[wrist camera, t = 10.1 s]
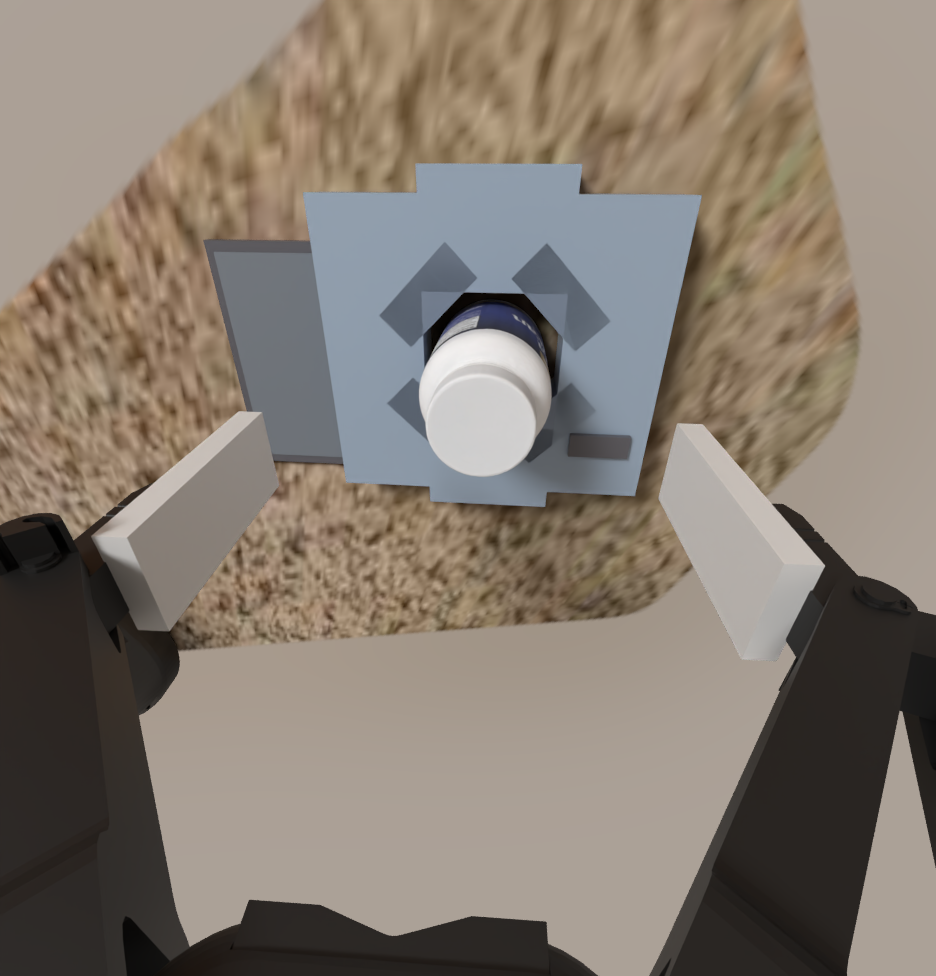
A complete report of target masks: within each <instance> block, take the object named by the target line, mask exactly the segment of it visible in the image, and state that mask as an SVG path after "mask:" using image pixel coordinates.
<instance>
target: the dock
mask: <svg viewBox="0 0 936 976" xmlns="http://www.w3.org/2000/svg"><path fill="white" fill-rule="evenodd" d="M581 171H582V164H416V183H417V192H303V196H304V203H305V210H306V216H307V223H308V230H309V236H310V243H311V250H312V256H313V263H314V270H315V276H316V283H317V290H318V296H319V303H320V310H321V317H322V323H323V330H324V337H325V343H326V350H327V357H328V363H329V370H330V377H331V383H332V390H333V397H334V403H335V410H336V417H337V423H338V430H339V437H340V443H341V450H342V457H343V464H344V470H345V477H346V482H347V483H369V484H390V485H411V486H430V501H435V502H455V503H475V504H496V505H516V506H536V507H545V504H546V495H547V492H560V493H581V494H602V495H623V496H635V493H636V488H637V484H638V479H639V475H640V471H641V466H642V462H643V457H644V453H645V448H646V444H647V439H648V435H649V430H650V426H651V421H652V417H653V412H654V408H655V403H656V399H657V394H658V390H659V385H660V381H661V376H662V372H663V367H664V363H665V358H666V354H667V350H668V345H669V341H670V336H671V332H672V327H673V323H674V318H675V314H676V309H677V305H678V300H679V296H680V291H681V287H682V282H683V278H684V273H685V269H686V264H687V260H688V255H689V251H690V246H691V242H692V237H693V233H694V229H695V224H696V220H697V215H698V211H699V206H700V202H701V197H702V195H687V194H579V189H580V180H581ZM464 292H474V293H522V294H525V295H526V296H527V297H528V298H529V300H530V301H531V302H532V303H533V304H534V305H535V307H536V308H537V309H538V310H539V311H540V312H541V313H542V315H543V316H544V317H545V318H546V319H547V320H548V322H549V323H550V324H551V325H552V326H553V327H554V328H555V330H556V331H557V332H558V341H557V351H556V360H555V370H554V377H553V378H552V379H551V395H552V398H551V406H550V411H549V414H548V417H547V420H546V422H545V424H544V426H543V428H542V429H541V431H540V432H539V434H538V435H537V436H536V437H535V441H534V443H533V446H532V448H531V450H530V452H529V453H528V455H527V456H526V457H525V458H524V459H523V460H522V461H521V462H520V463H519V464H518V465H517V466H515V467H514V468H512V469H511V470H509V471H507V472H504V473H502V474H499V475H494V476H489V477H477V476H470V475H465V474H463V473H460V472H457V471H455V470H453V469H452V468H450V467H449V466H447V465H446V464H445V463H443V462H442V461H441V460H440V459H439V458H438V456H437V455H436V454H435V452H434V451H433V449H432V447H431V445H430V443H429V441H428V438H427V434H426V422H425V420H424V418H423V415H422V412H421V408H420V402H419V386H420V381H421V377H422V374H423V371H424V369H425V366H426V364H427V362H428V360H429V358H430V356H431V354H432V341H431V326H432V325H433V324H434V323H435V322H436V321H437V320H438V319H439V318H440V317H441V316H442V315H443V314H444V313H445V311H446V310H447V309H448V308H449V307H450V306H451V305H452V304H453V303H454V302H455V301H456V300H457V299H458V298H459V297H460V296H461V295H462V294H463V293H464Z"/></svg>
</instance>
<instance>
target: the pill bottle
mask: <svg viewBox="0 0 936 976" xmlns="http://www.w3.org/2000/svg"><path fill="white" fill-rule="evenodd" d="M551 398H552V395H551V380H550V375H549V370H548V364H547V359H546V354H545V349H544V344H543V340H542V336H541V333H540V331H539V329H538V327H537V325H536V324H535V322H534V321H533V319H532V318H531V317H530V316H529V315H528V314H527V313H526V312H525V311H523V310H522V309H521V308H519V307H518V306H516V305H514V304H512V303H509V302H506V301H502V300H495V299H489V300H482V301H477V302H474V303H472V304H470V305H468V306H466V307H464V308H463V309H461V310H460V311H459V312H458V313H456V314H455V315H454V316H453V318H452V319H451V320H450V321H449V323H448V324H447V325H446V327H445V329H444V331H443V333H442V335H441V337H440V339H439V340H438V342H437V344H436V346H435V348H434V350H433V352H432V354H431V356H430V358H429V360H428V362H427V364H426V366H425V369H424V371H423V374H422V377H421V381H420V386H419V402H420V408H421V412H422V415H423V418H424V420H425V422H426V434H427V438H428V441H429V443H430V445H431V447H432V449H433V451H434V452H435V454H436V455H437V456H438V458H439V459H440V460H441V461H442V462H443V463H445V464H446V465H447V466H449V467H450V468H452V469H453V470H455V471H457V472H460V473H463V474H465V475H470V476H477V477H489V476H494V475H499V474H502V473H504V472H507V471H509V470H511V469H512V468H514V467H515V466H517V465H518V464H519V463H520V462H521V461H522V460H523V459H524V458H525V457H526V456H527V455H528V453H529V452H530V450H531V448H532V446H533V443H534V441H535V437H536V436H537V435H538V434H539V432H540V431H541V429H542V428H543V426H544V424H545V422H546V420H547V417H548V414H549V411H550V406H551Z"/></svg>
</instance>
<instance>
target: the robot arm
mask: <svg viewBox="0 0 936 976" xmlns="http://www.w3.org/2000/svg"><path fill="white" fill-rule="evenodd" d="M278 486H279V483H278V479H277V474H276V470H275V466H274V461H273V457H272V453H271V448H270V444H269V440H268V436H267V431H266V427H265V423H264V418H263V414H262V412H241V411H239V412H238V413H236V414H235V415H234V416H233V417H232V418H230V419H229V420H228V421H227V422H226V423H225V424H223V425H222V426H221V427H220V428H219V429H217V430H216V431H215V432H214V433H213V434H211V435H210V436H209V437H208V438H207V439H206V440H204V441H203V442H202V443H201V444H200V445H198V446H197V447H196V448H195V449H194V450H193V451H191V452H190V453H189V454H188V455H187V456H185V457H184V458H183V459H182V460H181V461H179V462H178V463H177V464H176V465H175V466H174V467H172V468H171V469H170V470H169V471H168V472H166V473H165V474H164V475H163V476H162V477H161V478H159V479H158V480H157V481H156V482H155V483H153V484H152V483H151V484H149V485H147V486H145V487H143V488H141V489H139V490H137V491H135V492H133V493H131V494H130V495H129V496H128V497H126V498H125V499H124V500H123V501H122V502H120V503H119V504H118V507H114V508H113V509H112V510H111V511H109V512H108V513H107V514H106V517H105V516H103V517H102V518H101V519H100V520H98V521H97V522H96V523H95V524H93V525H92V526H91V527H90V528H89V529H87V530H86V531H85V532H84V533H83V534H81V535H80V536H79V537H78V538H76V539H75V540H74V541H73V539H72V537H71V535H70V533H69V531H68V529H67V528H66V526H65V524H64V522H63V520H62V519H61V517H60V516H59V515H56V514H52V513H38V514H33V515H28V516H23V517H20V518H17V519H14V520H11V521H8V522H6V523H4V524H2V525H0V976H598V975H596V974H595V973H594V972H593V971H591V970H590V969H589V968H588V967H587V966H585V965H584V964H583V963H582V962H580V961H578V960H577V959H575V958H574V957H572V956H571V955H569V954H567V953H566V952H564V951H562V950H561V949H558V948H556V947H554V946H551V945H549V944H548V941H547V925H546V924H547V923H546V922H543V921H529V920H515V919H501V918H488V917H475V916H471V917H467V918H464V919H460V920H456V921H452V922H448V923H445V924H441V925H437V926H433V927H430V928H426V929H422V930H419V931H415V932H411V933H407V934H403V935H399V936H389V935H386V934H383V933H381V932H379V931H376V930H374V929H372V928H370V927H368V926H365V925H363V924H361V923H359V922H356V921H354V920H352V919H350V918H347V917H346V916H343V915H341V914H339V913H337V912H335V911H332V910H330V909H328V908H326V907H324V906H321V905H312V904H300V903H285V902H272V901H259V900H249V902H248V904H247V907H246V910H245V913H244V916H243V918H242V921H241V924H238V925H235V926H231V927H229V928H227V929H224V930H222V931H219V932H217V933H214V934H212V935H210V936H209V937H207V938H205V939H203V940H201V941H200V942H198V943H196V944H194V945H192V946H191V947H189V944H188V941H187V938H186V936H185V933H184V931H183V928H182V926H181V924H180V921H179V918H178V915H177V911H176V907H175V903H174V898H173V893H172V888H171V883H170V877H169V872H168V867H167V862H166V856H165V852H164V846H163V841H162V835H161V830H160V825H159V820H158V815H157V809H156V804H155V799H154V794H153V788H152V783H151V778H150V773H149V767H148V762H147V757H146V752H145V747H144V741H143V736H142V731H141V726H140V720H139V715H140V714H143V713H145V712H146V711H148V710H149V709H150V708H151V707H153V706H154V705H155V704H156V703H157V702H158V701H159V700H160V699H161V698H162V696H163V695H164V693H165V692H166V690H167V689H168V688H169V686H170V685H171V683H172V682H173V680H174V679H175V677H176V676H177V674H178V671H179V665H180V664H179V663H180V661H179V654H178V650H177V648H176V645H175V643H174V641H173V639H172V638H171V636H170V635H169V633H168V632H167V631H170V630H171V629H172V627H173V626H174V625H175V623H176V622H177V621H178V619H179V618H180V617H181V615H182V614H183V613H184V611H185V610H186V609H187V607H188V606H189V605H190V603H191V602H192V601H193V599H194V598H195V597H196V595H197V594H198V593H199V591H200V590H201V589H202V587H203V586H204V585H205V583H206V582H207V581H208V579H209V578H210V577H211V575H212V574H213V573H214V571H215V570H216V569H217V567H218V566H219V565H220V563H221V562H222V561H223V559H224V558H225V557H226V555H227V554H228V553H229V551H230V550H231V549H232V547H233V546H234V545H235V543H236V542H237V541H238V539H239V538H240V537H241V535H242V534H243V533H244V531H245V530H246V529H247V527H248V526H249V525H250V523H251V522H252V521H253V519H254V518H255V517H256V515H257V514H258V513H259V511H260V510H261V509H262V507H263V506H264V505H265V503H266V502H267V501H268V499H269V498H270V497H271V495H272V494H273V493H274V491H275V490H276V489H277V487H278ZM658 499H659V501H660V503H661V504H662V506H663V508H664V510H665V512H666V514H667V516H668V518H669V520H670V522H671V524H672V526H673V528H674V530H675V532H676V534H677V535H678V537H679V539H680V541H681V543H682V545H683V547H684V549H685V551H686V553H687V555H688V557H689V559H690V561H691V563H692V565H693V567H694V568H695V570H696V572H697V574H698V576H699V578H700V580H701V582H702V584H703V586H704V588H705V590H706V592H707V594H708V596H709V598H710V599H711V601H712V603H713V605H714V607H715V609H716V611H717V613H718V615H719V617H720V619H721V621H722V623H723V625H724V627H725V628H726V631H727V632H728V634H729V636H730V638H731V640H732V642H733V644H734V646H735V648H736V650H737V652H738V654H739V656H740V658H741V659H743V660H766V661H777V659H778V657H779V655H780V654H781V652H782V650H783V648H784V646H785V644H786V642H787V643H788V645H789V646H790V648H791V649H792V651H793V652H794V654H795V656H796V659H795V660H794V662H793V665H792V666H791V668H790V670H789V672H788V673H787V675H786V677H785V679H784V681H783V683H782V685H781V687H780V688H779V691H780V692H779V694H778V697H777V699H776V701H775V703H774V705H773V708H772V710H771V712H770V714H769V717H768V719H767V721H766V723H765V725H764V728H763V730H762V732H761V734H760V736H759V738H758V741H757V743H756V745H755V747H754V750H753V752H752V754H751V756H750V758H749V760H748V763H747V765H746V767H745V769H744V771H743V774H742V776H741V778H740V780H739V782H738V785H737V787H736V789H735V791H734V793H733V796H732V798H731V800H730V802H729V805H728V807H727V809H726V811H725V813H724V816H723V818H722V820H721V822H720V825H719V827H718V829H717V831H716V833H715V835H714V838H713V840H712V842H711V845H710V846H709V849H708V851H707V853H706V855H705V857H704V860H703V862H702V864H701V866H700V868H699V871H698V873H697V875H696V877H695V879H694V882H693V884H692V886H691V888H690V890H689V893H688V895H687V897H686V899H685V901H684V904H683V906H682V908H681V910H680V913H679V915H678V917H677V919H676V921H675V923H674V926H673V928H672V930H671V932H670V934H669V937H668V939H667V941H666V943H665V945H664V948H663V950H662V952H661V954H660V956H659V958H658V960H657V962H656V964H655V966H654V968H653V970H652V972H651V973H650V975H649V976H847V966H848V958H849V954H850V949H851V944H852V939H853V934H854V930H855V925H856V920H857V915H858V909H859V905H860V900H861V896H862V890H863V886H864V881H865V876H866V871H867V866H868V861H869V857H870V851H871V847H872V842H873V837H874V832H875V827H876V822H877V817H878V812H879V808H880V803H881V798H882V793H883V788H884V783H885V778H886V774H887V769H888V764H889V759H890V754H891V749H892V744H893V739H894V735H895V730H896V725H897V720H898V715H899V710H900V711H903V716H904V720H905V725H906V730H907V735H908V739H909V744H910V748H911V754H912V758H913V763H914V767H915V772H916V777H917V782H918V786H919V791H920V796H921V800H922V805H923V810H924V815H925V819H926V824H927V828H928V833H929V838H930V843H931V847H932V852H933V857H934V861H935V866H936V615H933V614H928V613H924V612H920V611H918V609H917V607H916V605H915V604H914V603H913V602H912V601H911V600H910V598H909V597H907V596H906V595H904V594H903V593H902V592H900V591H899V590H898V589H896V588H894V587H892V586H890V585H888V584H886V583H884V582H881V581H878V580H875V579H871V578H868V577H863V576H858V575H857V574H856V573H855V572H854V571H853V570H852V569H851V568H850V567H849V566H848V565H847V564H846V562H845V561H844V560H843V559H842V558H841V557H840V556H839V555H838V554H837V553H836V552H835V551H834V550H833V549H832V547H831V546H830V545H829V544H828V543H825V542H824V539H823V538H822V537H821V536H820V534H819V533H818V532H814V528H813V527H812V526H811V525H810V524H809V523H808V522H807V521H806V520H805V518H804V517H803V516H802V515H800V514H798V513H797V512H795V511H794V510H792V509H790V508H789V507H787V506H785V505H784V504H771V503H770V502H769V500H768V499H767V498H766V497H765V496H764V495H763V493H762V492H761V491H760V490H759V489H758V488H757V487H756V485H755V484H754V483H753V482H752V481H751V480H750V478H749V477H748V476H747V475H746V474H745V473H744V472H743V470H742V469H741V468H740V467H739V466H738V465H737V463H736V462H735V461H734V460H733V459H732V458H731V457H730V455H729V454H728V453H727V452H726V451H725V450H724V449H723V447H722V446H721V445H720V444H719V443H718V442H717V440H716V439H715V438H714V437H713V436H712V435H711V434H710V432H709V431H708V430H707V429H706V428H705V427H704V425H703V424H677V426H676V430H675V434H674V438H673V442H672V446H671V450H670V454H669V458H668V462H667V466H666V470H665V474H664V478H663V482H662V486H661V490H660V494H659V498H658Z"/></svg>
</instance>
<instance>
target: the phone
mask: <svg viewBox="0 0 936 976" xmlns="http://www.w3.org/2000/svg"><path fill="white" fill-rule="evenodd" d="M204 244H205V248H206V252H207V256H208V260H209V264H210V268H211V272H212V276H213V280H214V284H215V287H216V291H217V295H218V299H219V303H220V307H221V311H222V315H223V319H224V323H225V327H226V331H227V335H228V339H229V342H230V346H231V350H232V354H233V358H234V362H235V366H236V370H237V374H238V378H239V382H240V386H241V390H242V394H243V398H244V401H245V405H246V409H247V412H262V414H263V418H264V423H265V427H266V431H267V436H268V440H269V444H270V448H271V453H272V457H273V461H290V462H312V463H334V464H343V457H342V450H341V443H340V437H339V430H338V423H337V417H336V410H335V403H334V397H333V390H332V383H331V377H330V370H329V363H328V357H327V350H326V343H325V337H324V330H323V323H322V317H321V310H320V303H319V296H318V290H317V283H316V276H315V270H314V263H313V256H312V250H311V243H310V241H299V240H225V239H207V240H204Z"/></svg>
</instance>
